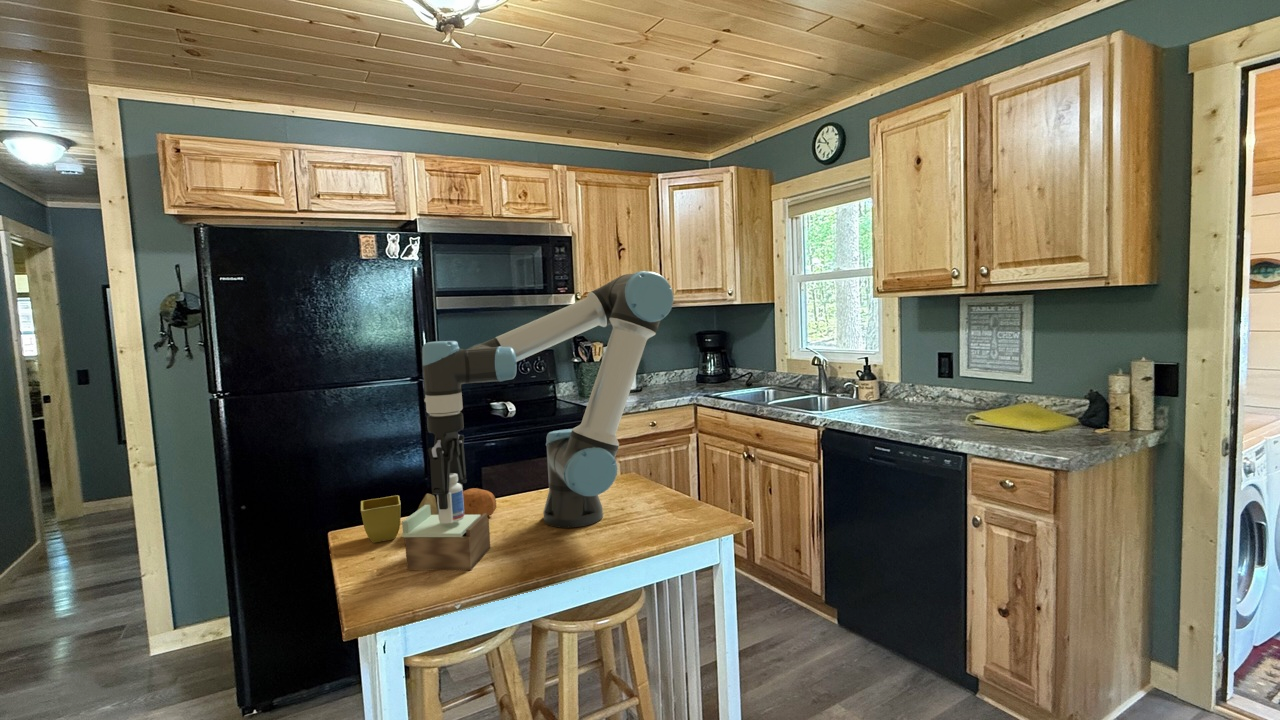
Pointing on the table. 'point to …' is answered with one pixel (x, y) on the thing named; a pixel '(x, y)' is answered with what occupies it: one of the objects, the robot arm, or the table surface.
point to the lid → (434, 525)
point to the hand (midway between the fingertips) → (452, 517)
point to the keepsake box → (449, 549)
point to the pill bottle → (455, 498)
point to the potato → (478, 502)
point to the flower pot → (381, 518)
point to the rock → (430, 503)
